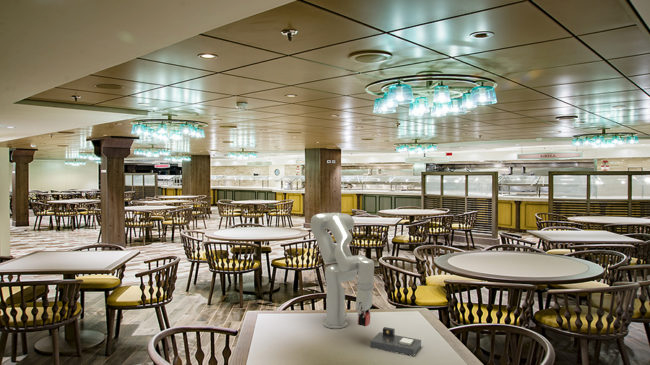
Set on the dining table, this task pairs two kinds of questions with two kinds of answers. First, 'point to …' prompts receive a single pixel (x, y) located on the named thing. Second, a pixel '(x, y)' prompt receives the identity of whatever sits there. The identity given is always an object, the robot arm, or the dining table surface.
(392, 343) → the panel
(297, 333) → the dining table surface
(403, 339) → the button
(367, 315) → the red block
